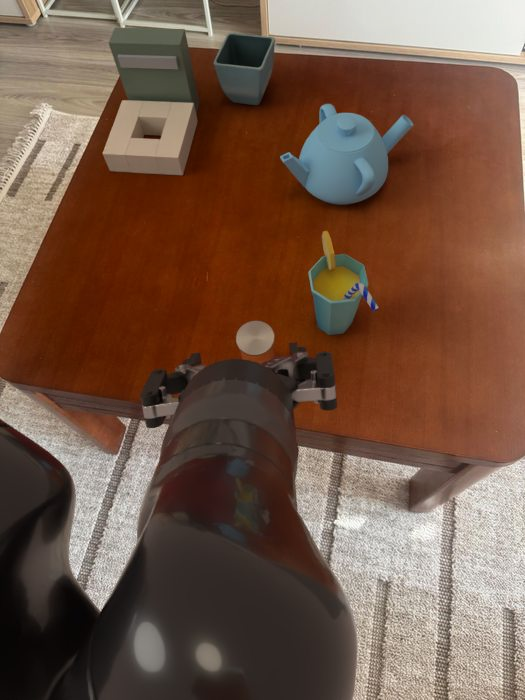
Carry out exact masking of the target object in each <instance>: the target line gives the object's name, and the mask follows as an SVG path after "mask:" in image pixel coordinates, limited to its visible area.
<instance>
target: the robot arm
mask: <svg viewBox="0 0 525 700" xmlns="http://www.w3.org/2000/svg"><path fill="white" fill-rule="evenodd" d="M288 347H289V348H288V349H289V356H283V355H275V357H274V358H272V359H270V360H268V361H266V362H264V363H262V364H259V363H256V362H253V361H250V360H244V359H242V358H228V359H222V360H219V361H215V362H213V363H211V364H209V365H205V364H203V362H202V356H201V352H192V353H191V354H190V356H189V357H188V358H186V359H183V360H182V362H181V364H179V365H177V366H175V367H174V371H173V372H170V373H168V372H167V369H163V368H157V369H154V370H153V371H151V372H150V374H149V376H148V378H147V380H146V382H145V384H144V386H143V388H142V390H141V392H140V394H139V396H140V397H139V398H140V402H141V408H142V412H143V417H144V422H145V427H146V428H147V429H157V428H159V427H161V426H162V425H163V424H164V422H165V420H168V419H170V422H169V425H168V427H167V429H166V431H165V434H164V437H163V439H162V444H161V447H160V453H159V460H158V462H157V465H156V467H155V470H154V471H153V474H152V477H151V479H150V481H149V484H148V485H147V488H146V490H145V494H144V496H143V499H142V503H141V506H140V510H139V514H138V517H137V518H138V519H137V524H136V525H137V526H136V527H137V528H136V544H135V546H134V548H133V550H132V552H131V554H130V555H129V558H128V559H127V562H126V564H125V565H124V568H123V569H122V572H121V573H120V575H119V578H117V581H116V583H115V584H114V587H113V589H112V591H111V592H110V594H109V596H108V598H107V599H106V601H105V603H104V605H103V606H102V608H101V610H100V609H99V607H98V606H97V605H96V604H95V602H94V601H93V600H92V599H91V597H90V596H89V595H88V594H87V592H86V590H85V589H84V588H83V587H82V585H81V584H80V582H79V581H78V579H77V578H76V577H75V574H74V572H73V571H72V568H71V563H70V543H71V535H72V529H73V525H74V524H73V523H74V520H75V519H74V518H75V512H76V503H77V492H76V485H75V482H74V479H73V477H72V475H71V473H70V471H69V470H68V469H67V468H66V467H67V466H65V465H64V464H63V463H62V462H61V461H60V460H59V459H58V458H56V457H55V456H54V455H53V454H52V453H50V451H48V450H47V449H45V447H43V446H41V445H40V444H38V443H37V442H36V441H34V440H33V439H31V438H30V437H28V436H26V434H23V433H22V432H21V431H19V430H17V429H16V428H14V426H13V425H10V424H9V423H8V422H6V421H5V420H4V419H1V418H0V700H353V699H354V694H355V689H356V680H357V670H358V634H357V627H356V621H355V615H354V613H353V609H352V605H351V603H350V600H349V598H348V596H347V595H346V592H345V590H344V588H343V586H342V585H341V583H340V581H339V579H338V578H337V576H336V574H335V573H334V571H333V569H332V568H331V566H330V564H329V563H328V562H327V560H326V559H325V557H324V555H323V554H322V552H321V550H320V548H319V547H318V545H317V543H316V541H315V539H314V538H313V535H312V534H311V532H310V530H309V529H308V527H307V525H306V523H305V522H304V520H303V518H302V516H301V515H300V513H299V511H298V499H297V488H296V487H297V486H296V485H297V484H296V479H297V472H298V465H299V463H298V462H299V461H298V460H299V453H300V450H299V445H298V444H299V443H298V442H297V432H296V421H295V413H294V411H295V410H296V409H297V408H298V406H299V405H300V403H301V402H313V403H314V404H319V408H320V410H322V411H334V410H336V409H338V400H337V399H338V398H337V397H338V396H337V387H336V377H335V376H336V375H335V367H334V361H333V355H332V353H331V352H330V351H320V352H317V353H316V354H315V357H310V356H309V352H308V351H307V347H306V346H302V345H301V346H298V342H297V341H293V342H288ZM177 394H178V397H174V396H173V395H177Z"/></svg>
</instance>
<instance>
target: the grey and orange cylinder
mask: <svg viewBox="0 0 525 700" xmlns="http://www.w3.org/2000/svg"><path fill="white" fill-rule="evenodd" d="M275 337H276V336H275V332H274V330H273V328H272V327H271V325H269V324H268V323H266V322H264V321H261V320H251V321H248V322H246V323H244V324H243V325H241V326H240V327H239V329H238V330H237V332H236V335H235V342H236V345H237V347H238V349H239V352H240V356H241V359H244V360H250V361H253V362H256V363H259V364H262V363H264V362H266V361H268V360H270V359H272V358H274V357H276V353H275V339H276V338H275Z"/></svg>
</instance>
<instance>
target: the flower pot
mask: <svg viewBox="0 0 525 700" xmlns="http://www.w3.org/2000/svg"><path fill="white" fill-rule="evenodd" d="M275 43H276V38H275V37H273V36H268V35H256V34H247V33H237V32H228V33H227V34H226V35H225V37H224V39H223V41H222V44H221V46H220V47H219V50H218V52H217V54H216V56H215V58H214V60H213V67H214V71H215V73H216V77H217V79H218V84H219V86H220V88H221V90H222V92H223V94H224V95H225V96H226V97H227V99H229V100H230V101H231V102H233V103H235V104H242V105H251V106H259V105H260V103H261V102H262V100H263V96H264V95H265V92H266V89H267V87H268V85H269V82H270V81H271V80H270V79H271V77H272V74H273V68H274V61H275V48H276V47H275V46H276V44H275Z"/></svg>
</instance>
